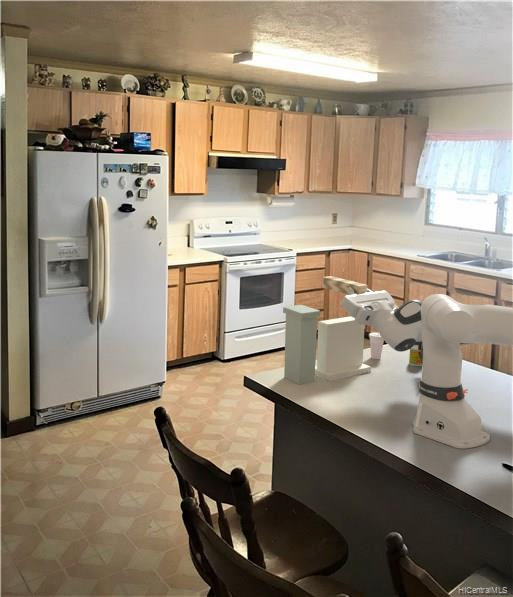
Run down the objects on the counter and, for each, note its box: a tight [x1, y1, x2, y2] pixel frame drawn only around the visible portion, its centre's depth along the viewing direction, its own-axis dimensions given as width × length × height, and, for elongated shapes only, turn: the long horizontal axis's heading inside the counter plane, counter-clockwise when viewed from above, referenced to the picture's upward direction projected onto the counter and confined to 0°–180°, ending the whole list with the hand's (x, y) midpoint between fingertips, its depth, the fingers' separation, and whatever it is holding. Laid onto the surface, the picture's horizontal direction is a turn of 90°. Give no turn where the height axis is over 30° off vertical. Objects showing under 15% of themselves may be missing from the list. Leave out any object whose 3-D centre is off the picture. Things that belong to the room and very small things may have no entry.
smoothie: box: [368, 331, 384, 360], centre depth 255 cm, size 6×6×14 cm
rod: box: [322, 275, 368, 296], centre depth 232 cm, size 20×4×4 cm, turn 33°
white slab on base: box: [315, 315, 372, 382], centre depth 237 cm, size 12×20×20 cm, turn 123°
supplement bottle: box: [408, 345, 422, 367], centre depth 249 cm, size 5×5×10 cm
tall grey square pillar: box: [282, 304, 321, 385], centre depth 227 cm, size 11×8×26 cm
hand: (355, 288), depth 226 cm, fingers closed on rod, 4 cm apart
